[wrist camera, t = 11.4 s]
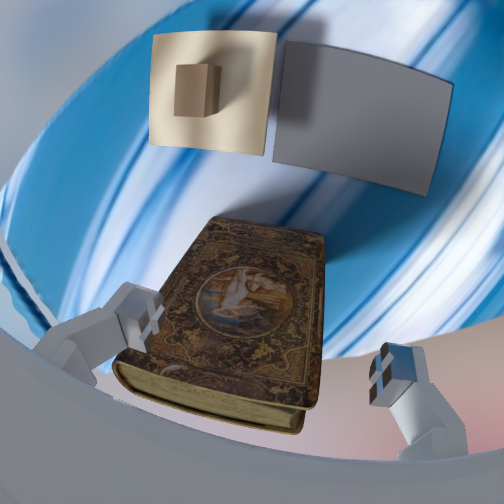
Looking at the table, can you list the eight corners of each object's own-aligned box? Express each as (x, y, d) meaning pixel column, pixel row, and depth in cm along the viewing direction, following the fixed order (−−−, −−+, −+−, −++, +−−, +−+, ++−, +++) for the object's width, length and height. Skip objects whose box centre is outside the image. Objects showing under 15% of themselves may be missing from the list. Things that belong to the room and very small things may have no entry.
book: (206, 248, 43) (122, 389, 23) (205, 215, 40) (104, 355, 20) (317, 267, 41) (302, 436, 20) (324, 233, 38) (319, 409, 17)
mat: (450, 84, 24) (452, 84, 23) (424, 195, 32) (426, 196, 32) (287, 41, 26) (286, 41, 26) (272, 161, 34) (272, 162, 34)
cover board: (277, 34, 22) (270, 24, 18) (264, 154, 29) (255, 166, 25) (157, 35, 24) (133, 31, 20) (152, 143, 31) (130, 153, 27)
